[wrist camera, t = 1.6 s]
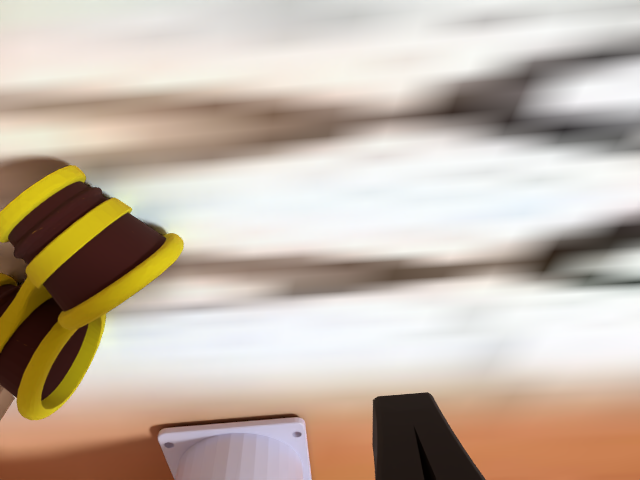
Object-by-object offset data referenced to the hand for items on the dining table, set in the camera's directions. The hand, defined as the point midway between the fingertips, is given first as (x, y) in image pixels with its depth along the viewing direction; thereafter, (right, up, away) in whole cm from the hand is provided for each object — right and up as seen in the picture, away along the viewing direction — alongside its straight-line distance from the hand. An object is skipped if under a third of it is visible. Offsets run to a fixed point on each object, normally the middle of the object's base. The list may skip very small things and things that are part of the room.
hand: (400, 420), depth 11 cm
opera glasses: (-12, +4, +8) cm, 15 cm away
